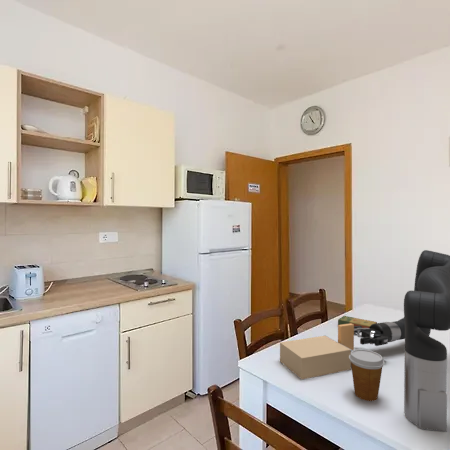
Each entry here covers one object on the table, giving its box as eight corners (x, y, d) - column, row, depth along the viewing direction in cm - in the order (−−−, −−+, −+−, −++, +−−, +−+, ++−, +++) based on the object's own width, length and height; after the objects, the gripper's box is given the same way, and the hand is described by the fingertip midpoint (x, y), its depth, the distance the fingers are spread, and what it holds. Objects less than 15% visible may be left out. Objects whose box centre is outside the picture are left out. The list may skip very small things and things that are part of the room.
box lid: (301, 379, 100) (301, 358, 100) (279, 361, 113) (280, 342, 113) (350, 369, 107) (350, 349, 107) (324, 353, 120) (324, 335, 120)
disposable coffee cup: (354, 383, 98) (354, 346, 97) (387, 394, 92) (387, 354, 91) (344, 396, 90) (344, 356, 90) (379, 409, 84) (380, 365, 84)
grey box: (304, 377, 100) (305, 339, 100) (282, 359, 113) (282, 325, 113) (366, 364, 109) (366, 330, 109) (339, 349, 122) (339, 318, 122)
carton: (372, 335, 140) (372, 326, 140) (337, 327, 151) (337, 318, 151) (377, 330, 147) (377, 321, 147) (343, 323, 157) (343, 314, 157)
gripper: (370, 317, 128) (339, 321, 122) (400, 328, 114) (367, 333, 109) (370, 335, 128) (339, 340, 122) (400, 348, 114) (366, 354, 109)
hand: (352, 337), depth 116 cm, fingers open, 8 cm apart
